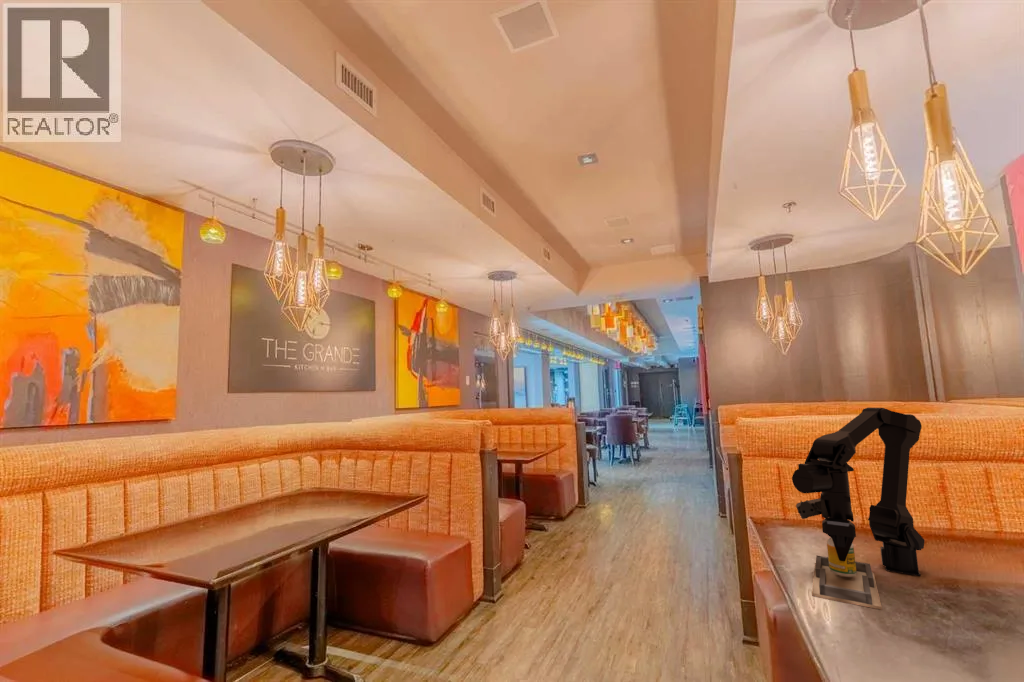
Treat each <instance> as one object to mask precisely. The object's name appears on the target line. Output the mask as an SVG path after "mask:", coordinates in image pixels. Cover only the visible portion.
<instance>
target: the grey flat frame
mask: <svg viewBox="0 0 1024 682" xmlns="http://www.w3.org/2000/svg"><path fill="white" fill-rule="evenodd" d="M855 562H856V573H857V574H856V576H854V577H845V576H840V575H836V574H834V573H832V572H831V571H830V569H829V560H828V556H824V555H823V556H822V555H816V556H815V563H814V566H813V569H814V570H813V579H812V587H811V589H812V590H811V595H812V597H815V596H816V597H815V598H820V599H821V598H822V599H826V600H831V601H834V602H835V601H836V602H840V603H841V602H842V603H844V604H845V603H846V604H852V605H858V606H861V607H866V608H871V609H875V610H881V611H882V610H883V607H882V604H881V598H880V595H879V589H878V587H877V586H878V585H877V583H876V577H875V573H874V572H872V566H871V564H870V563H868V562H867V563H866V562H861V561H856V560H855Z"/></svg>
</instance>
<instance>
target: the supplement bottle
mask: <svg viewBox="0 0 1024 682" xmlns="http://www.w3.org/2000/svg"><path fill="white" fill-rule="evenodd" d="M826 549H827V557H828V560H829V569H830V571H831V572H832V573H834V574H836V575H840V576H845V577H854V576H856V574H857V573H856V562H857V561H856V555H855V554H856V552H855V545H854V542H852V545H851V547H850V550H849V552H848V555H847V557H846V560H845V561H840V560H839V558H838V555H837V552H836V549H835V546H834V543H833V540H832V538H831V537H829V538H828V539H827V540H826ZM855 561H856V562H855Z"/></svg>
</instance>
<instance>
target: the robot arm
mask: <svg viewBox="0 0 1024 682" xmlns="http://www.w3.org/2000/svg"><path fill="white" fill-rule="evenodd" d="M876 430H877V431H878V436H879V438H880V439H881V441H882V442H883V444H884V453H883V455H884V457H883V465H882V466H883V468H882V478H881V479H882V481H881V489H880V491H881V492H880V500H879V501H878V502H877V503H876V504H871V505H870V506H869V516H868V518H867V520H868V524H869V528H870V530H871V531H870V532H871V533H872V536H873V539H874V541H876V542H881V543H882V546H880V547H879V548H880V558H881V564H882V566H883V567H884V568H885V570H886V571H888V572H891V573H898V574H903V575H904V574H905V575H909V576H910V575H912V576H915V577H916V576H917V577H921V571H919V565H918V564H919V563H918V556H917V555H918V553H917V551H922V549H924V548H925V543H926V542H925V538H924V537H923V536H922V535H921V534H920V533H919V531H917V529H916V528H915V525H914V517H913V516H912V515H911V512H910V511H909V509H908V507H907V494H908V493H907V491H908V481H909V480H908V479H909V466H910V465H909V464H910V454H911V453H910V451H911V449H912V448H913V447H914V446H915V445H916V444H917V443H918V442H919V439H920V434H921V431H922V422H921V421H920V419H918V418H917V417H916V416H915V415H913V414H910V413H907V414H905V413H901V412H899V411H898V412H896V411H893V410H890V409H887V408H884V407H866V408H863V409H862V410H861V413H859V414H858V415H856V416H855V417H854V418H852V419H851V420H850V421H849V422H848V423H846V424H845V425H844V426H842V427H841V428H840V429H839V430H837V431H835V432H831V433H826V434H824V435H821V436H819V437H817V438H815V439H814V440H813V442H812V445H811V447H810V450H809V452H808V454H807V457H806V458H805V461H804V463H798V465H797V466H798V468H797V469H795V470H794V471H793V473H792V476H791V482H792V484H793V486H794V488H795V489H796V490H797V491H798V492H800V493H801V494H814V493H816V494H817V493H820V496H819V498H813V499H808V500H806V499H805V501H802V500H801V501H800V502H797V503H796V505H795V507H796V509H797V513H798V514H799V515H800V518H801V519H802V520H805V519H808V518H811V517H815V516H820V515H821V517H822V518H823V520H822V521H821V528H822V533H823V534H826V535H827V536H828V537H829V538H832V540H833V543H834V546H835V549H836V552H837V555H838V558H839V560H840V561H845V560H846V557H847V555H848V552H849V550H850V547H851V545H852V543H854V540H855V538H856V537H857V533H856V525H855V524H854V521H855V520H854V512H853V509H852V501H851V500H852V499H851V491H850V482H849V480H850V479H849V472H854V471H855V469H854V468H853V467H852V466H851V465H849V462H850V460H852V458H853V457H854V455H855V454H856V451H857V450H856V447H857V446H858V445H859V444H860V443H861V442H863V440H865V439H866V438H867V437H869V436H870V435H871V434H872V433H874V432H875V431H876Z"/></svg>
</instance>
